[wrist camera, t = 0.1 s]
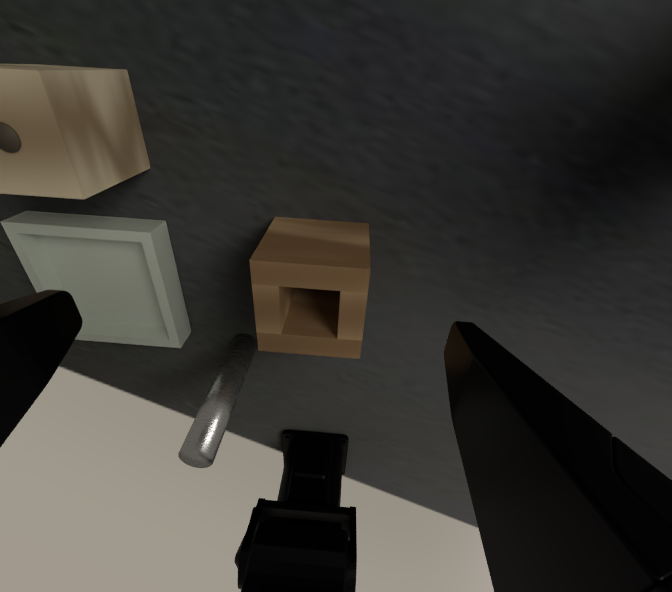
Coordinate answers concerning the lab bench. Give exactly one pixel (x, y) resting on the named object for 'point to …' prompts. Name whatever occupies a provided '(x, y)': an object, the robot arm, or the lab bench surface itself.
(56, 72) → the maple block
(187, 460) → the rod
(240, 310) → the lab bench surface
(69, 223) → the tray
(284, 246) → the bored oak block
